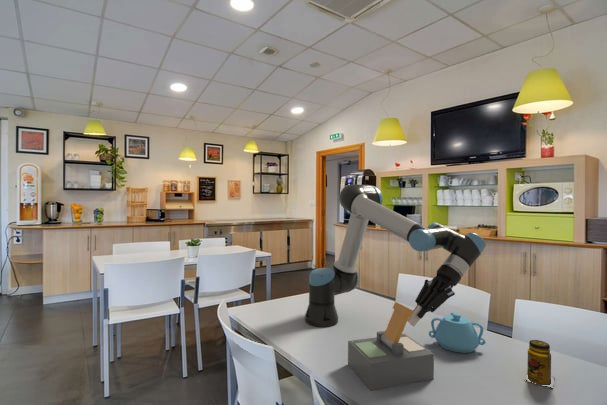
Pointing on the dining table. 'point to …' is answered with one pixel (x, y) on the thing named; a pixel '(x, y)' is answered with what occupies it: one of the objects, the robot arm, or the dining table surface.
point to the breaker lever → (396, 324)
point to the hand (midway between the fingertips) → (410, 323)
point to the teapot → (457, 333)
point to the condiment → (539, 363)
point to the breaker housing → (390, 362)
